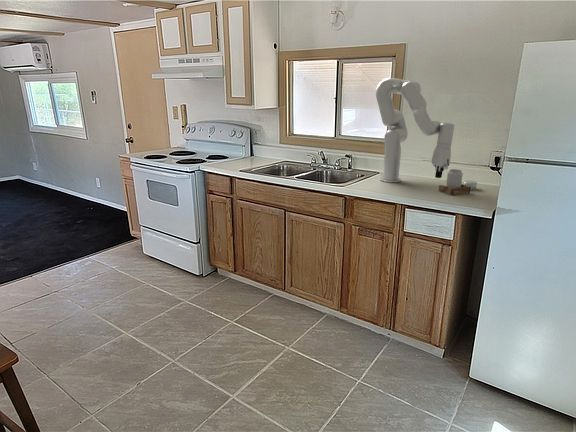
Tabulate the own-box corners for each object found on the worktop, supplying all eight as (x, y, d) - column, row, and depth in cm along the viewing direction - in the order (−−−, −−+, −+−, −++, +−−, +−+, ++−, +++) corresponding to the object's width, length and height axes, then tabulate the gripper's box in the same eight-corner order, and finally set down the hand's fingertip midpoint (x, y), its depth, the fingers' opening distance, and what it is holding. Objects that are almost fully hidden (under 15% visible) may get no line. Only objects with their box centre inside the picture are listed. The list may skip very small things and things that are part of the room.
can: (448, 189, 220) (450, 168, 217) (462, 191, 216) (464, 169, 212) (443, 191, 215) (446, 170, 211) (457, 193, 210) (460, 171, 207)
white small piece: (460, 188, 222) (461, 181, 220) (466, 186, 226) (467, 179, 224) (472, 191, 216) (473, 184, 215) (478, 189, 221) (479, 182, 219)
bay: (438, 190, 217) (439, 184, 216) (456, 188, 221) (457, 182, 220) (451, 195, 208) (452, 189, 207) (469, 193, 212) (470, 186, 211)
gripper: (429, 143, 223) (424, 174, 229) (447, 148, 210) (441, 181, 216) (439, 143, 225) (434, 174, 232) (458, 147, 212) (452, 180, 219)
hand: (438, 177), depth 224 cm, fingers closed
